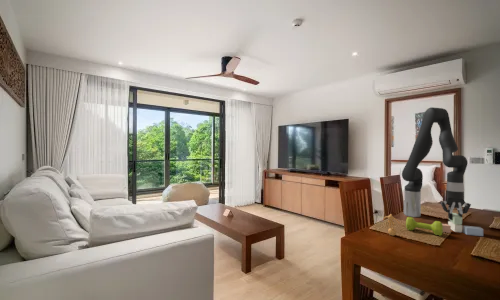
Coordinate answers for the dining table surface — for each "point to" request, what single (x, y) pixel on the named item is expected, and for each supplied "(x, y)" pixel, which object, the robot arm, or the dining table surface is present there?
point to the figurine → (390, 230)
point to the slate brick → (473, 230)
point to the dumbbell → (424, 226)
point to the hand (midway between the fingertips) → (455, 219)
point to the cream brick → (455, 227)
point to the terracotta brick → (446, 228)
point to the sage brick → (456, 219)
